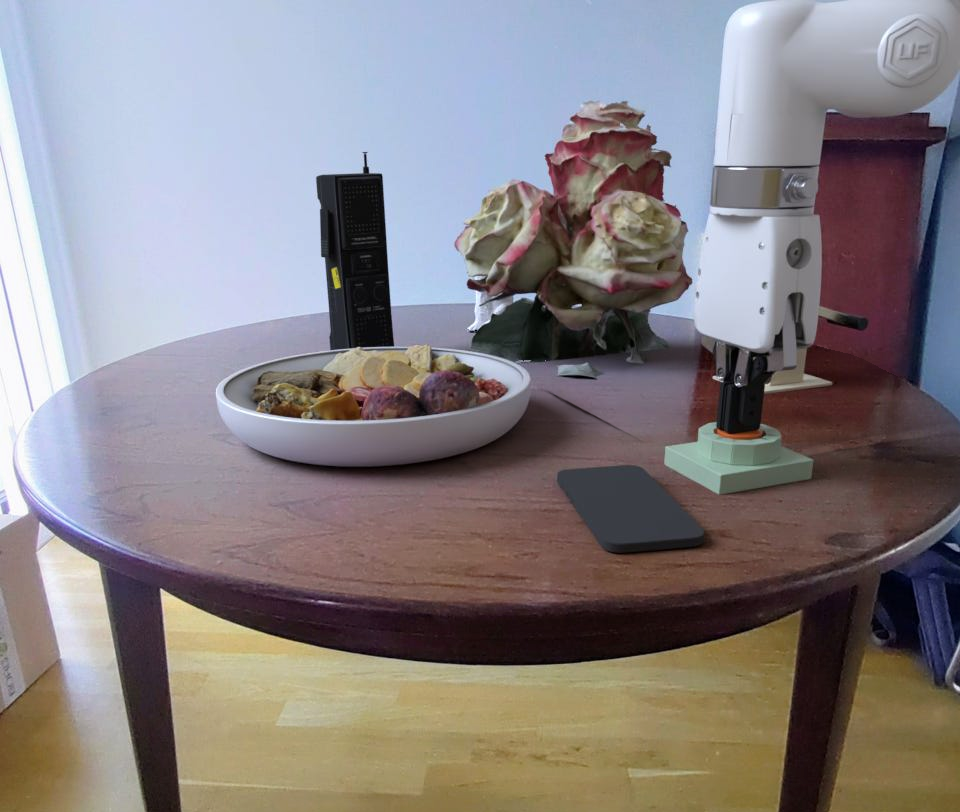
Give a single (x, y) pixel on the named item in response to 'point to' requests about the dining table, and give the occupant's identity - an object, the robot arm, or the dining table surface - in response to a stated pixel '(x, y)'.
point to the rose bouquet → (580, 247)
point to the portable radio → (355, 259)
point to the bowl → (374, 404)
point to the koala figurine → (487, 307)
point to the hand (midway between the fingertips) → (737, 429)
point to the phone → (628, 509)
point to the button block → (737, 461)
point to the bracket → (792, 378)
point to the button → (741, 435)
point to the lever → (843, 319)
